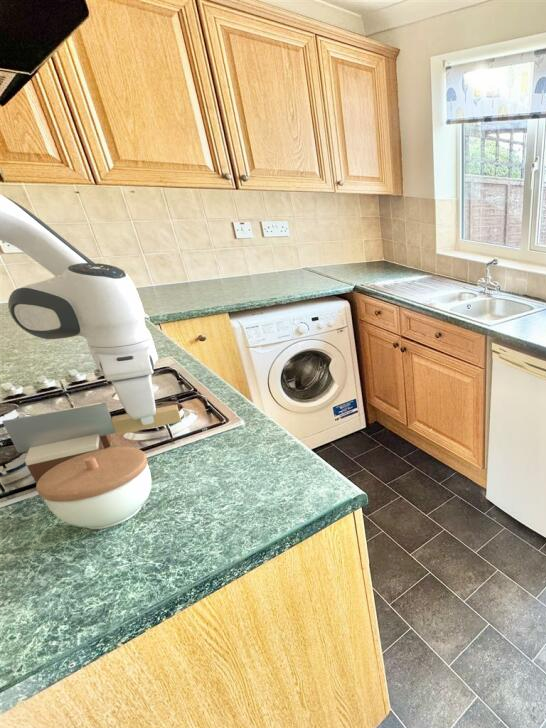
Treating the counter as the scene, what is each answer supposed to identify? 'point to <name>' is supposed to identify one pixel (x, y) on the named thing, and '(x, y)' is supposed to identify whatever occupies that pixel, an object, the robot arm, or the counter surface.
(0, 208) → the robot arm
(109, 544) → the counter surface
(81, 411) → the cleaver
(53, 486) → the lidded bowl
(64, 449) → the cake slice
